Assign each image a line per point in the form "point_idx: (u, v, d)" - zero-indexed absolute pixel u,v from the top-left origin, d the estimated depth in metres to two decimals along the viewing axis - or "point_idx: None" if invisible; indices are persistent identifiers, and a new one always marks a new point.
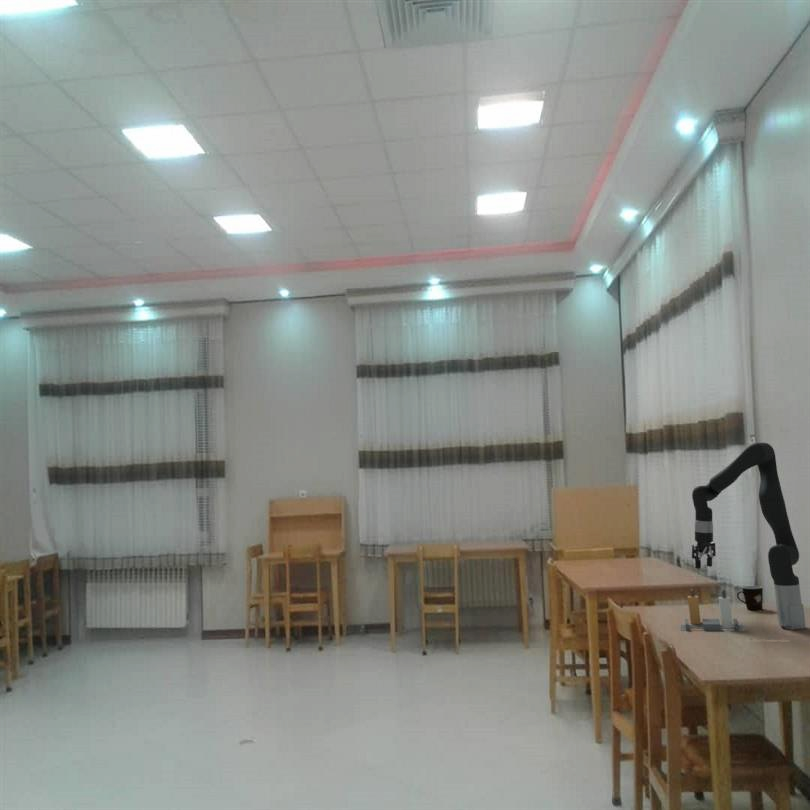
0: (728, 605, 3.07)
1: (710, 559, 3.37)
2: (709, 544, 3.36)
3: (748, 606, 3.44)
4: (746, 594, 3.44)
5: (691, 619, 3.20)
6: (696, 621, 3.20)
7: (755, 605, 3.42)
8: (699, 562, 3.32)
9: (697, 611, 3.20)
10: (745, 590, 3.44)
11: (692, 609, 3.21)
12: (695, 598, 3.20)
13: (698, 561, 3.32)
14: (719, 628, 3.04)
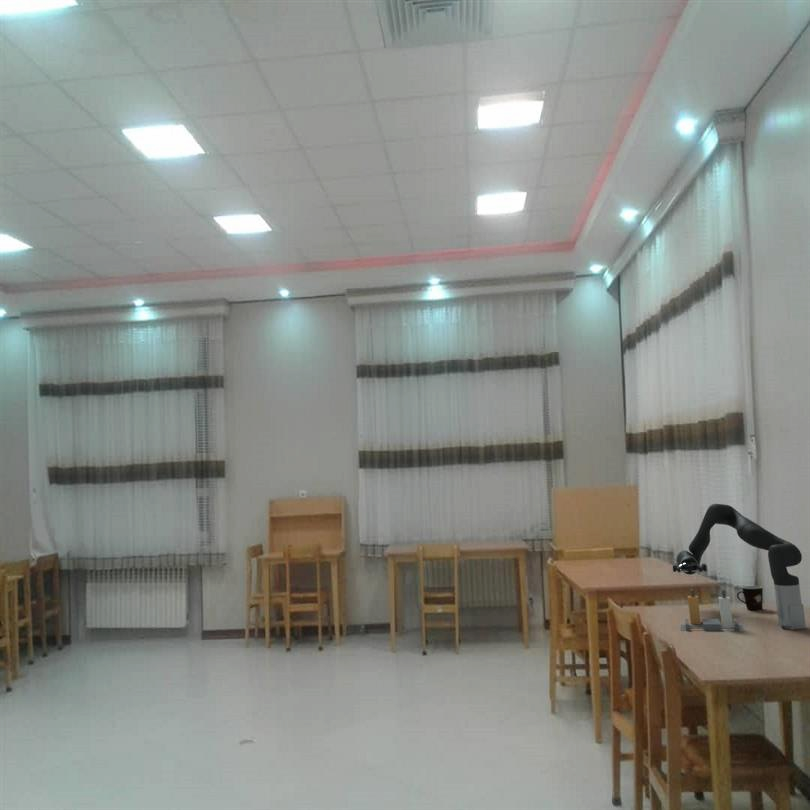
0: (728, 605, 3.07)
1: (699, 567, 3.36)
2: (695, 564, 3.43)
3: (748, 606, 3.44)
4: (746, 594, 3.44)
5: (691, 619, 3.20)
6: (696, 621, 3.20)
7: (755, 605, 3.42)
8: (678, 567, 3.38)
9: (697, 611, 3.20)
10: (745, 590, 3.44)
11: (692, 609, 3.21)
12: (695, 598, 3.20)
13: (677, 567, 3.39)
14: (719, 628, 3.04)
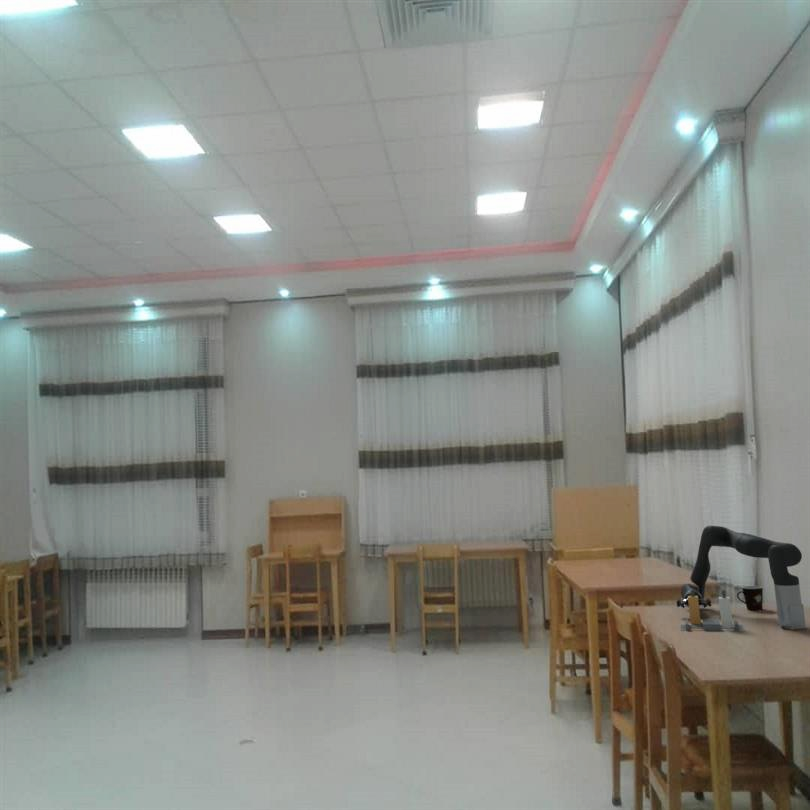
0: (728, 605, 3.07)
1: (703, 602, 3.30)
2: None
3: (748, 606, 3.44)
4: (746, 594, 3.44)
5: (691, 619, 3.20)
6: (696, 621, 3.20)
7: (755, 605, 3.42)
8: (682, 602, 3.32)
9: (697, 611, 3.20)
10: (745, 590, 3.44)
11: (692, 609, 3.21)
12: (695, 598, 3.20)
13: (681, 602, 3.33)
14: (719, 628, 3.04)
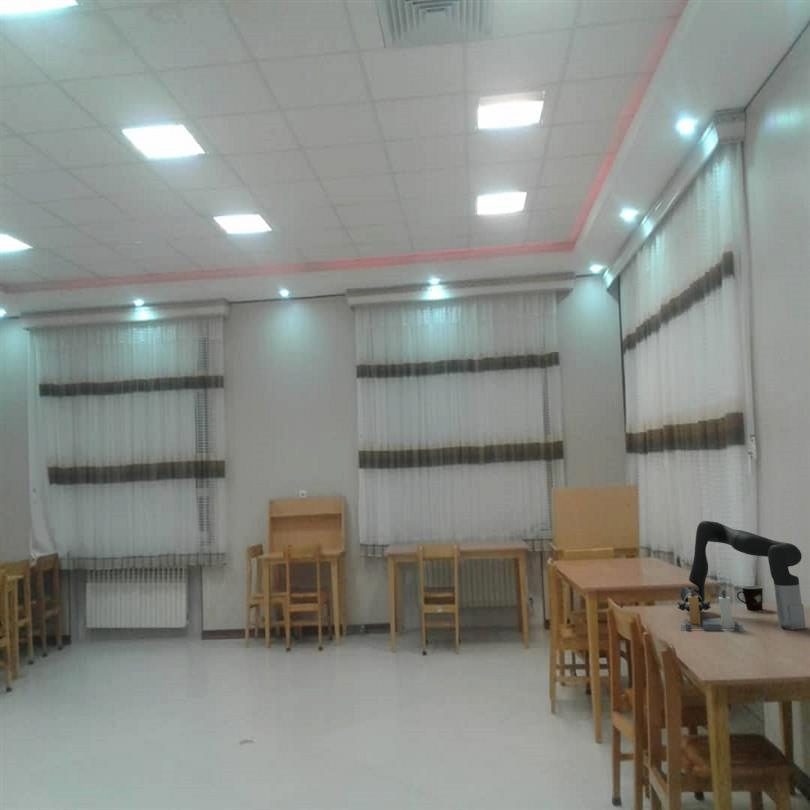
0: (728, 605, 3.07)
1: None
2: (700, 601, 3.29)
3: (748, 606, 3.44)
4: (746, 594, 3.44)
5: (691, 619, 3.20)
6: (696, 621, 3.20)
7: (755, 605, 3.42)
8: (687, 605, 3.23)
9: (697, 611, 3.20)
10: (745, 590, 3.44)
11: (692, 609, 3.21)
12: (695, 598, 3.20)
13: (686, 606, 3.24)
14: (719, 628, 3.04)
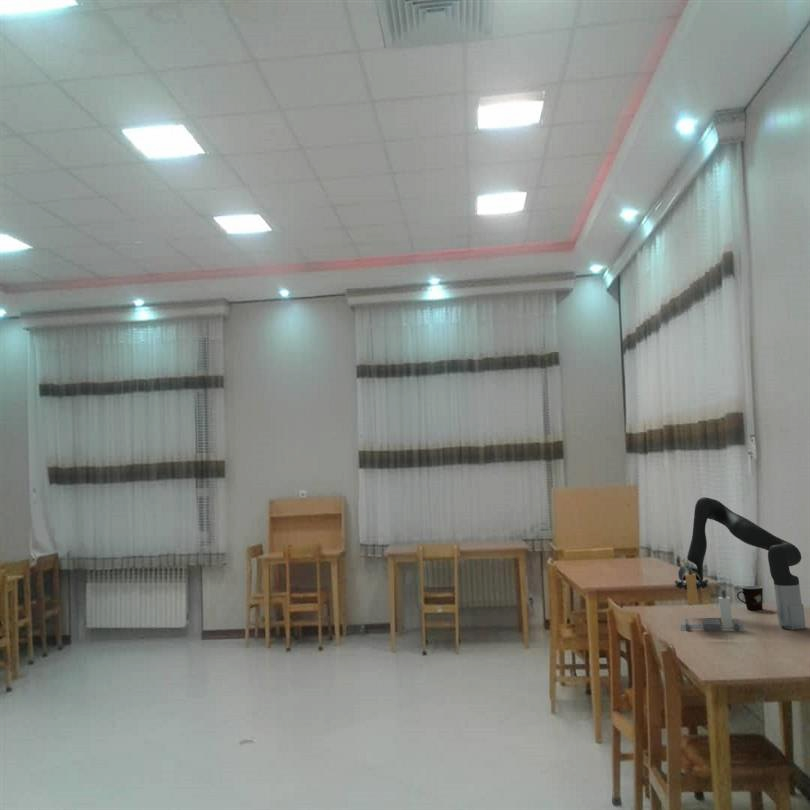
0: (728, 605, 3.07)
1: None
2: (698, 580, 3.22)
3: (748, 606, 3.44)
4: (746, 594, 3.44)
5: (688, 597, 3.13)
6: (693, 599, 3.12)
7: (755, 605, 3.42)
8: (684, 583, 3.16)
9: (695, 589, 3.12)
10: (745, 590, 3.44)
11: (689, 587, 3.13)
12: (693, 576, 3.13)
13: (683, 584, 3.16)
14: (719, 628, 3.04)
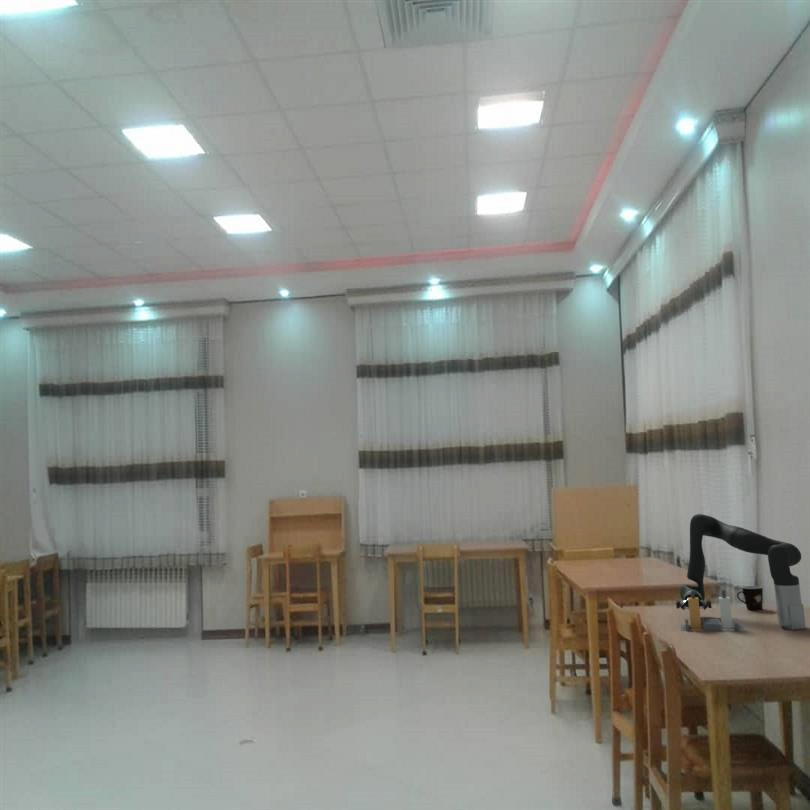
0: (728, 605, 3.07)
1: (703, 604, 3.13)
2: (699, 600, 3.20)
3: (748, 606, 3.44)
4: (746, 594, 3.44)
5: (691, 621, 3.11)
6: (696, 623, 3.10)
7: (755, 605, 3.42)
8: (682, 603, 3.15)
9: (698, 613, 3.10)
10: (745, 590, 3.44)
11: (692, 611, 3.11)
12: (695, 600, 3.11)
13: (681, 604, 3.16)
14: (719, 628, 3.04)
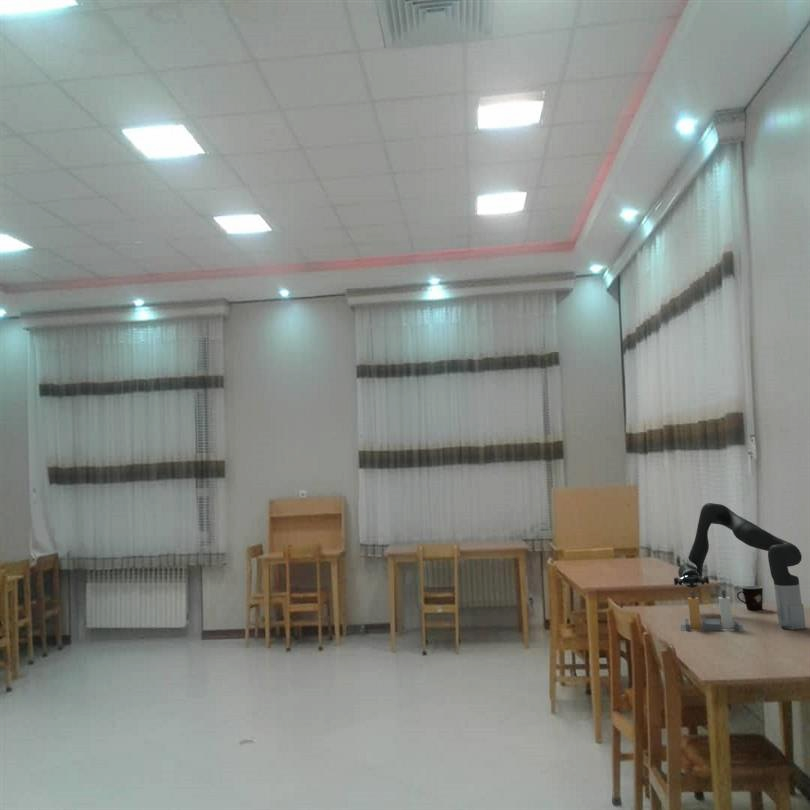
0: (728, 605, 3.07)
1: (701, 579, 3.26)
2: None
3: (748, 606, 3.44)
4: (746, 594, 3.44)
5: (691, 621, 3.11)
6: (696, 623, 3.10)
7: (755, 605, 3.42)
8: (679, 580, 3.28)
9: (698, 613, 3.10)
10: (745, 590, 3.44)
11: (692, 611, 3.11)
12: (695, 600, 3.11)
13: (679, 580, 3.29)
14: (719, 628, 3.04)
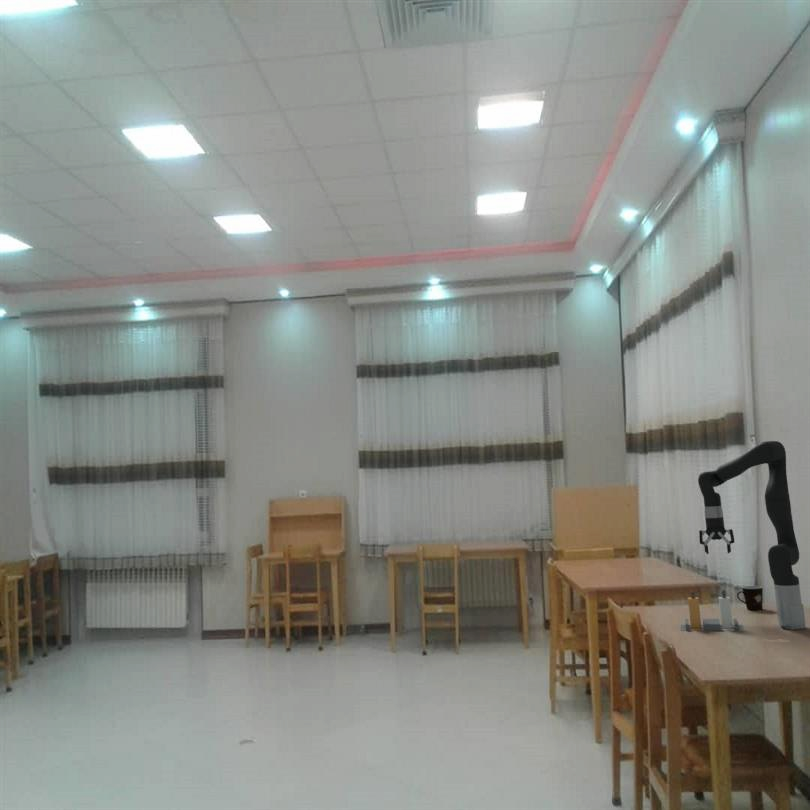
0: (728, 605, 3.07)
1: (727, 546, 3.32)
2: (722, 530, 3.32)
3: (748, 606, 3.44)
4: (746, 594, 3.44)
5: (691, 621, 3.11)
6: (696, 623, 3.10)
7: (755, 605, 3.42)
8: (706, 547, 3.34)
9: (698, 613, 3.10)
10: (745, 590, 3.44)
11: (692, 611, 3.11)
12: (695, 600, 3.11)
13: (705, 546, 3.35)
14: (719, 628, 3.04)
